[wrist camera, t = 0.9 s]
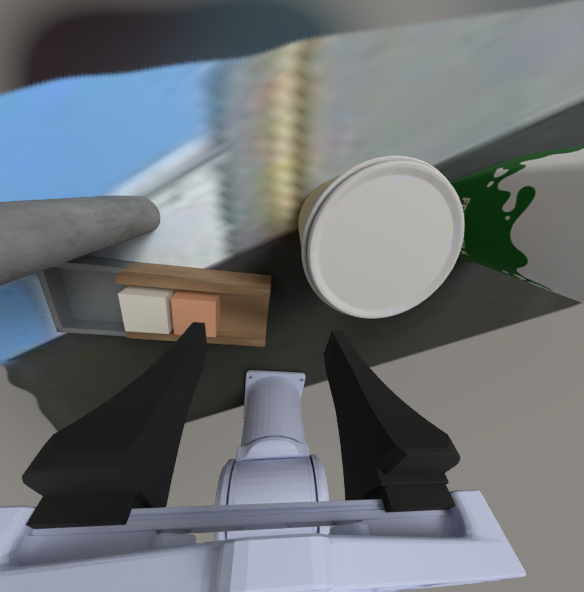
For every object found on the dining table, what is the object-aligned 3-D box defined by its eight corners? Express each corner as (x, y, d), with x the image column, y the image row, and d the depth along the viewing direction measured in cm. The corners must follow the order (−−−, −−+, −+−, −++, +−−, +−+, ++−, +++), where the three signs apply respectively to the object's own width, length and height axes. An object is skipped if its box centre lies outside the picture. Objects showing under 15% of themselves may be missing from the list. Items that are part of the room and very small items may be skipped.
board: (265, 328, 29) (264, 347, 25) (145, 319, 27) (127, 338, 24) (271, 275, 26) (270, 288, 22) (136, 262, 24) (114, 274, 21)
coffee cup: (398, 219, 24) (500, 246, 13) (332, 281, 27) (372, 347, 16) (339, 145, 21) (409, 101, 10) (271, 224, 23) (267, 256, 13)
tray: (146, 327, 27) (137, 337, 26) (72, 321, 27) (57, 331, 25) (136, 262, 24) (125, 268, 22) (51, 253, 23) (32, 259, 21)
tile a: (219, 326, 25) (215, 337, 23) (181, 323, 25) (174, 334, 23) (220, 293, 24) (215, 301, 22) (178, 289, 23) (170, 298, 21)
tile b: (176, 323, 25) (168, 334, 23) (136, 320, 24) (125, 331, 22) (173, 288, 23) (164, 297, 21) (130, 285, 23) (117, 293, 21)
